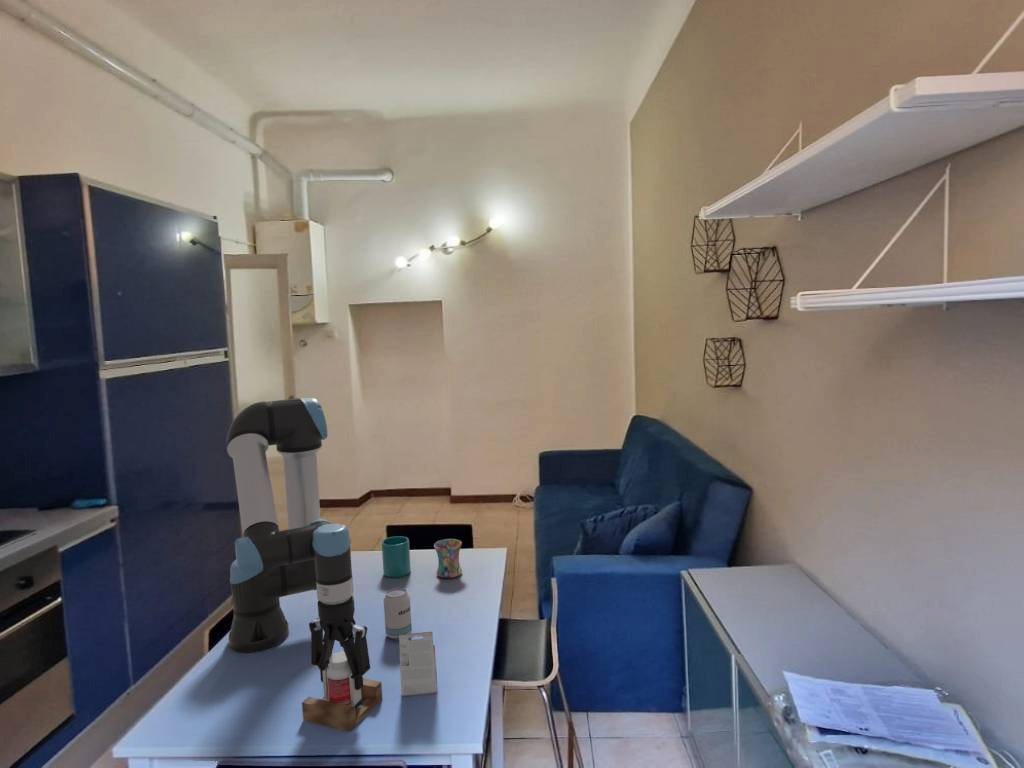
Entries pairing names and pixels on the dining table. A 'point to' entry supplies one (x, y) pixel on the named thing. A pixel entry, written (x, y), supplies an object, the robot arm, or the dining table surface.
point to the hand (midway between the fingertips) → (343, 698)
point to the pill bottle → (339, 679)
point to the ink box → (417, 664)
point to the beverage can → (397, 613)
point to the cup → (396, 556)
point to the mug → (448, 557)
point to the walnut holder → (342, 708)
